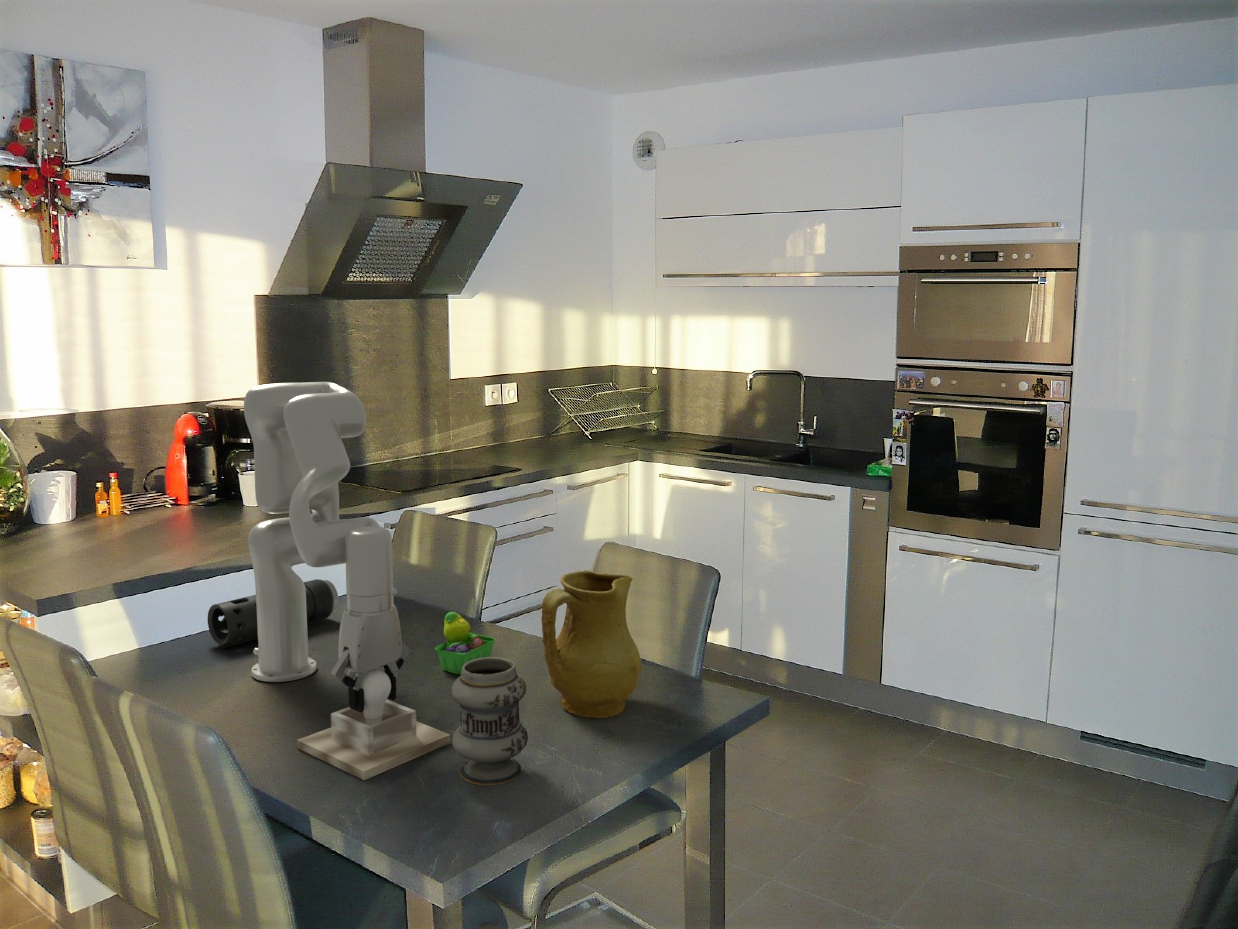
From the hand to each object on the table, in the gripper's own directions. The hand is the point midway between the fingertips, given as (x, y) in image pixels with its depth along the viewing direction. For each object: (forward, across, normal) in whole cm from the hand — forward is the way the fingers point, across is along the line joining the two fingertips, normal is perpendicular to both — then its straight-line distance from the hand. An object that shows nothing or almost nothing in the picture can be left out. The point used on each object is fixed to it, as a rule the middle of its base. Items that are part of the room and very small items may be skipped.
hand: (373, 703), depth 171 cm
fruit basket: (+8, -36, -17) cm, 41 cm away
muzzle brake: (+8, -23, -64) cm, 69 cm away
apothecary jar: (+8, -6, +22) cm, 24 cm away
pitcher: (+8, -37, +17) cm, 42 cm away
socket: (+8, 0, 0) cm, 8 cm away
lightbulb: (+5, 0, 0) cm, 5 cm away
